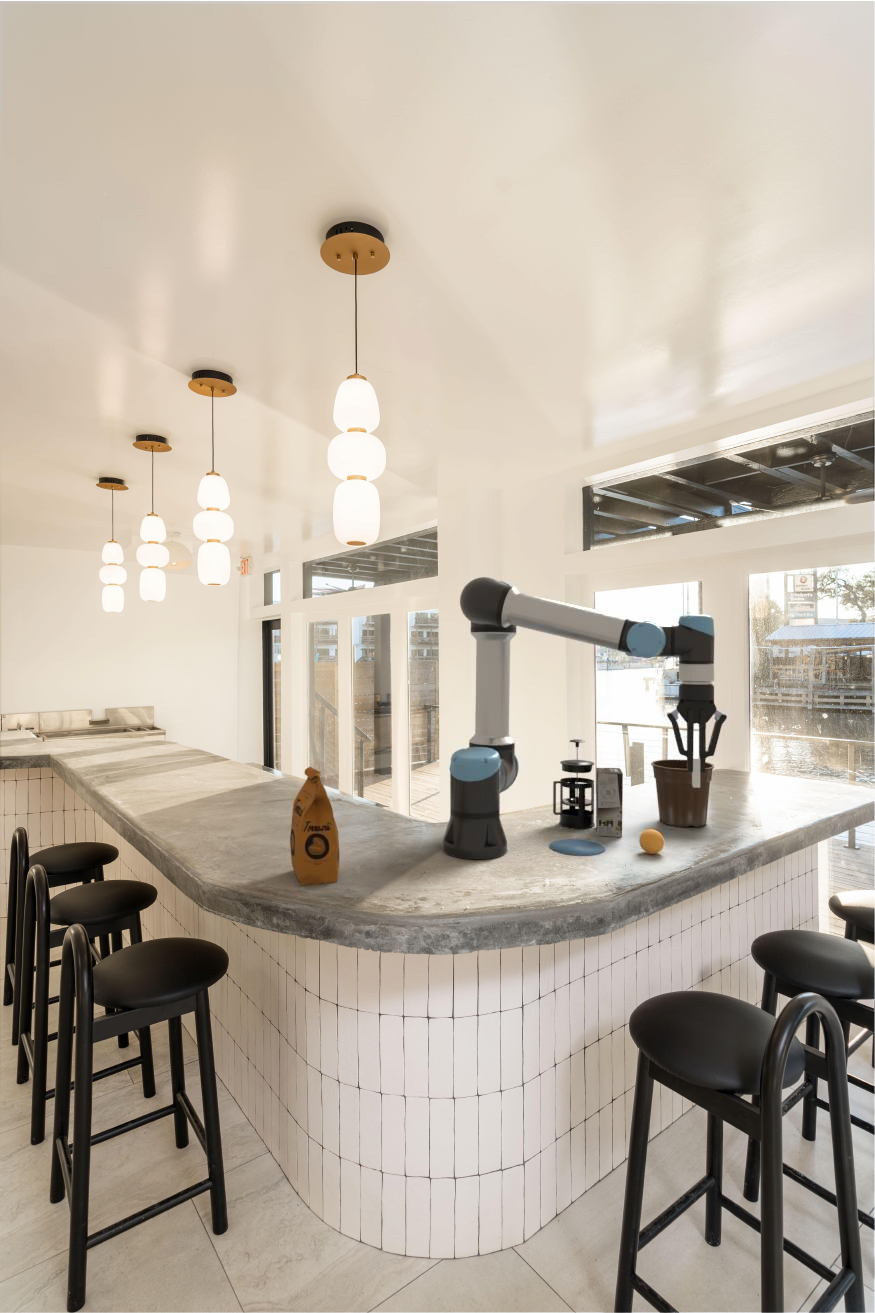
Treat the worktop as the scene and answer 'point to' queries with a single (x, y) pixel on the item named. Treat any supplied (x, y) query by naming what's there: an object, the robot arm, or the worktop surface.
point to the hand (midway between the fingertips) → (696, 786)
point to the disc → (577, 847)
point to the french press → (575, 794)
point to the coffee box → (609, 801)
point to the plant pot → (681, 793)
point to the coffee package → (314, 834)
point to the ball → (651, 841)
